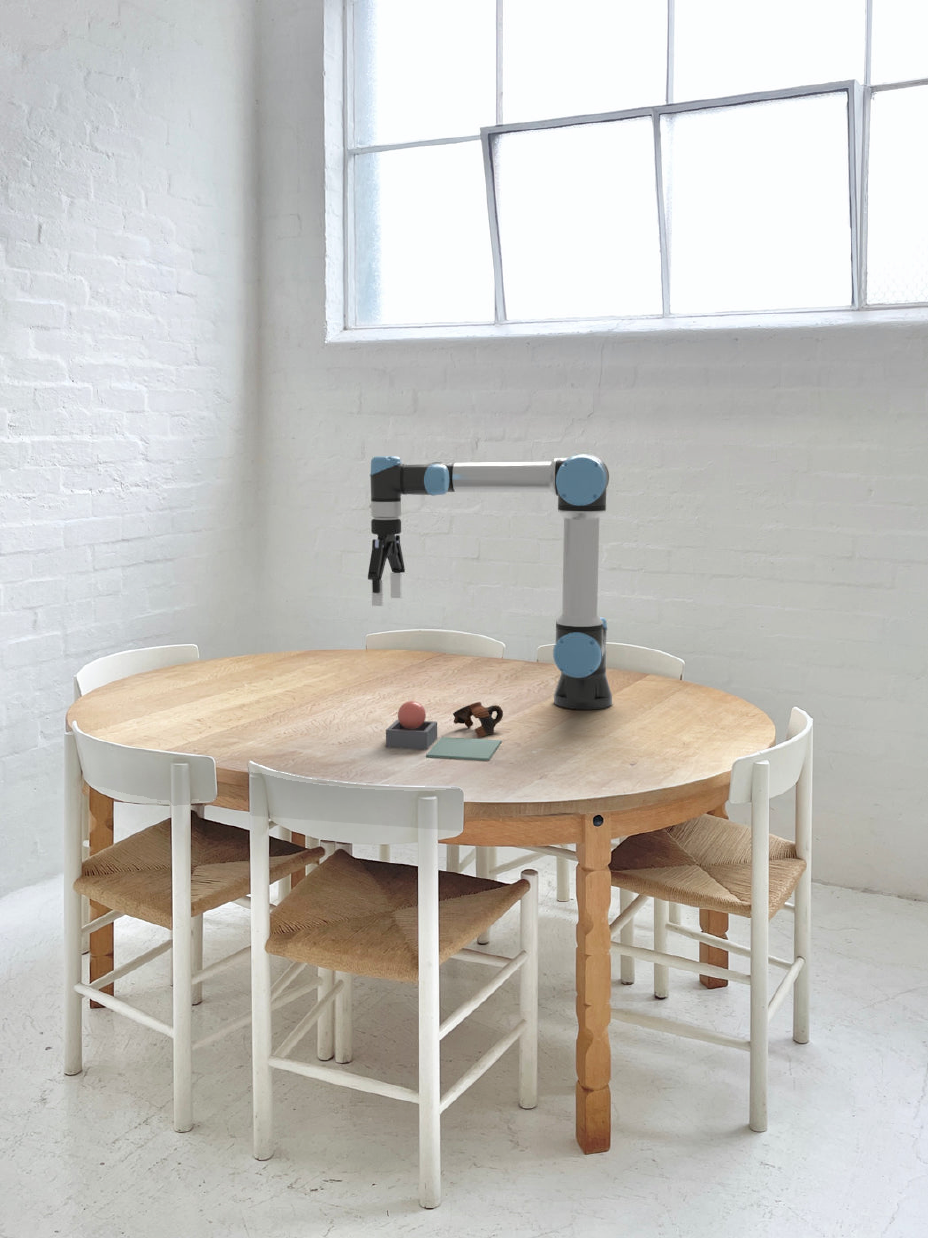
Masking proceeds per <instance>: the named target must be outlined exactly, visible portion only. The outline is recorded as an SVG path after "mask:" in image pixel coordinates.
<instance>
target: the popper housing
mask: <svg viewBox="0 0 928 1238" xmlns="http://www.w3.org/2000/svg"><path fill="white" fill-rule="evenodd" d="M437 740H438V721H432V720H425V721H424V723H423V724H422V725H421V726H420V727H418V728H416V729H407V728H405V727H404V726H402V725H401V723H400V722H399V720H398V719H396V720H395V721H394V722H393V723H392V724H390V725H389V726H388V728H386V729H385V747H386V748H398V749H413V750H429V749H430V747H432V745H433V744H434V743H435V742H436V741H437Z"/></svg>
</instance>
